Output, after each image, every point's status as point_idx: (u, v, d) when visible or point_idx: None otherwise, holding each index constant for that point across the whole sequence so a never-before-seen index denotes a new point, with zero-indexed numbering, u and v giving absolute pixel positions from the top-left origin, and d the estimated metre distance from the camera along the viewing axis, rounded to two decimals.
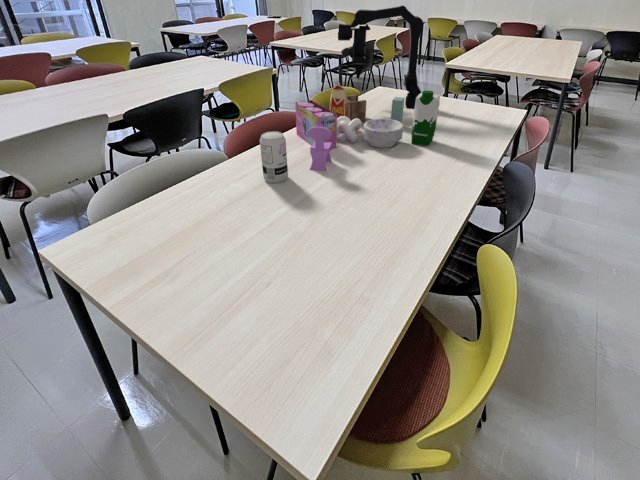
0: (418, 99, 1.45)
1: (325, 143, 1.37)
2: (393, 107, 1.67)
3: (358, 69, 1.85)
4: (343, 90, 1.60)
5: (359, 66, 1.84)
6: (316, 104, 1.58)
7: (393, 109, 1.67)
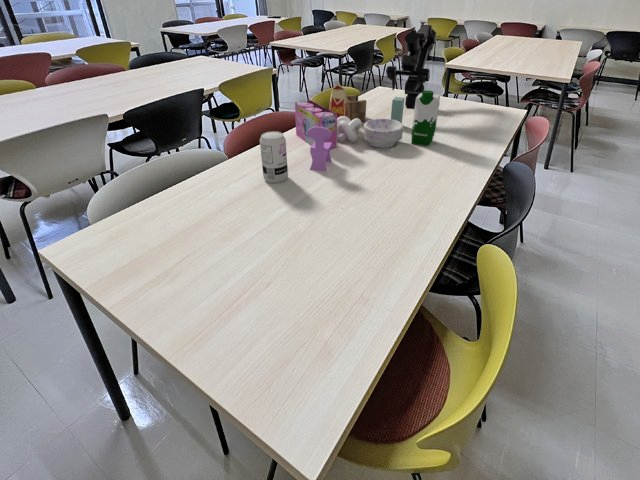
0: (418, 99, 1.45)
1: (325, 143, 1.37)
2: (393, 107, 1.67)
3: (418, 83, 1.70)
4: (343, 90, 1.60)
5: None
6: (316, 104, 1.58)
7: (393, 109, 1.67)
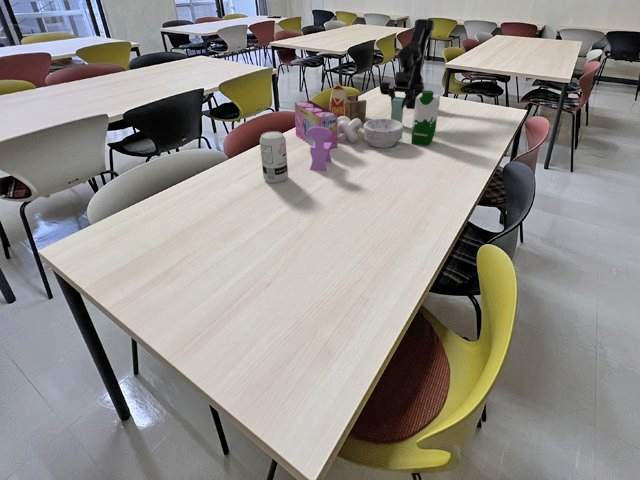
0: (418, 99, 1.45)
1: (325, 143, 1.37)
2: (393, 107, 1.67)
3: (407, 99, 1.67)
4: (343, 90, 1.60)
5: (407, 97, 1.67)
6: (315, 104, 1.58)
7: (393, 109, 1.67)
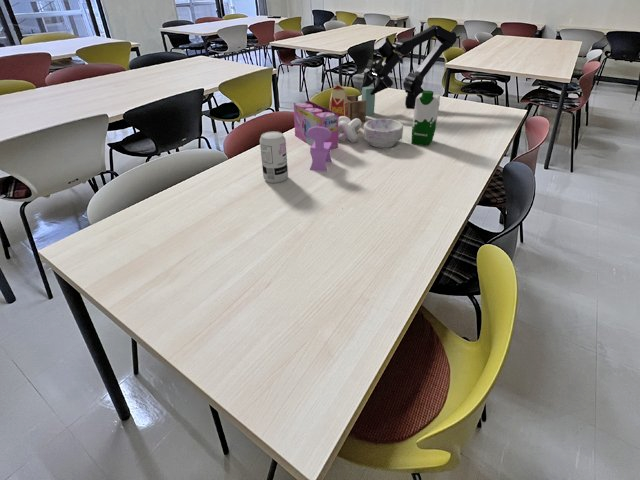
0: (418, 99, 1.45)
1: (325, 143, 1.37)
2: (362, 94, 1.85)
3: (378, 88, 1.78)
4: (343, 90, 1.60)
5: (380, 86, 1.78)
6: (315, 105, 1.58)
7: (362, 96, 1.85)
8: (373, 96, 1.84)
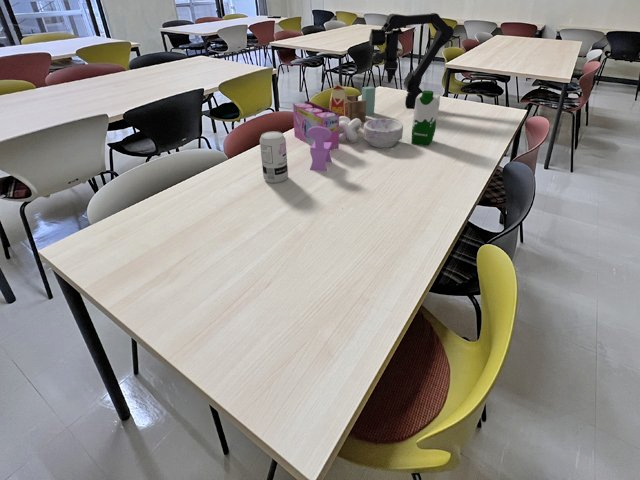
0: (418, 99, 1.45)
1: (325, 143, 1.37)
2: (362, 94, 1.85)
3: (390, 74, 1.82)
4: (343, 90, 1.60)
5: (391, 71, 1.81)
6: (314, 105, 1.57)
7: (362, 96, 1.85)
8: (373, 96, 1.84)
